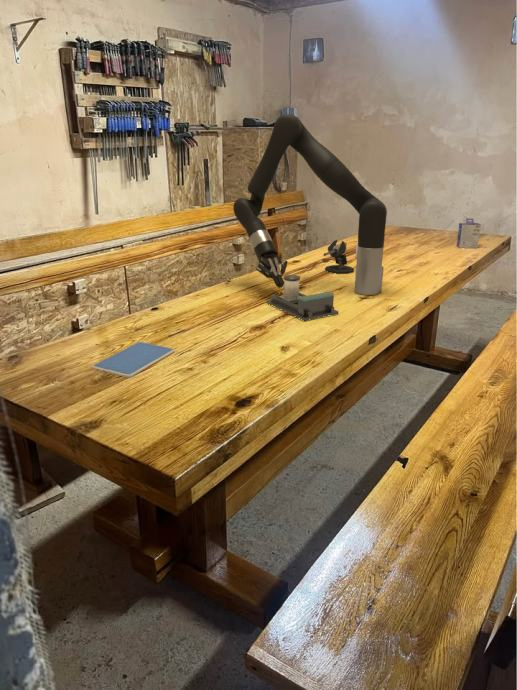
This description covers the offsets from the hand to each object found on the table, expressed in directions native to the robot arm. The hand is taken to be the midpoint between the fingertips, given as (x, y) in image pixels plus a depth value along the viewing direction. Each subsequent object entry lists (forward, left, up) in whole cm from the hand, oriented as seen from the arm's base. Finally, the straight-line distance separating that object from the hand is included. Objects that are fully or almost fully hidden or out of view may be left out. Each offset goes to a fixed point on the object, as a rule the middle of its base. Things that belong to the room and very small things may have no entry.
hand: (281, 286), depth 190 cm
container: (-73, -37, -5) cm, 82 cm away
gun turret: (-43, -22, -5) cm, 48 cm away
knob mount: (0, +12, -5) cm, 13 cm away
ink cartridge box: (-136, -29, -5) cm, 139 cm away
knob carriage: (0, +6, -4) cm, 7 cm away
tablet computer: (+63, +25, -6) cm, 68 cm away
